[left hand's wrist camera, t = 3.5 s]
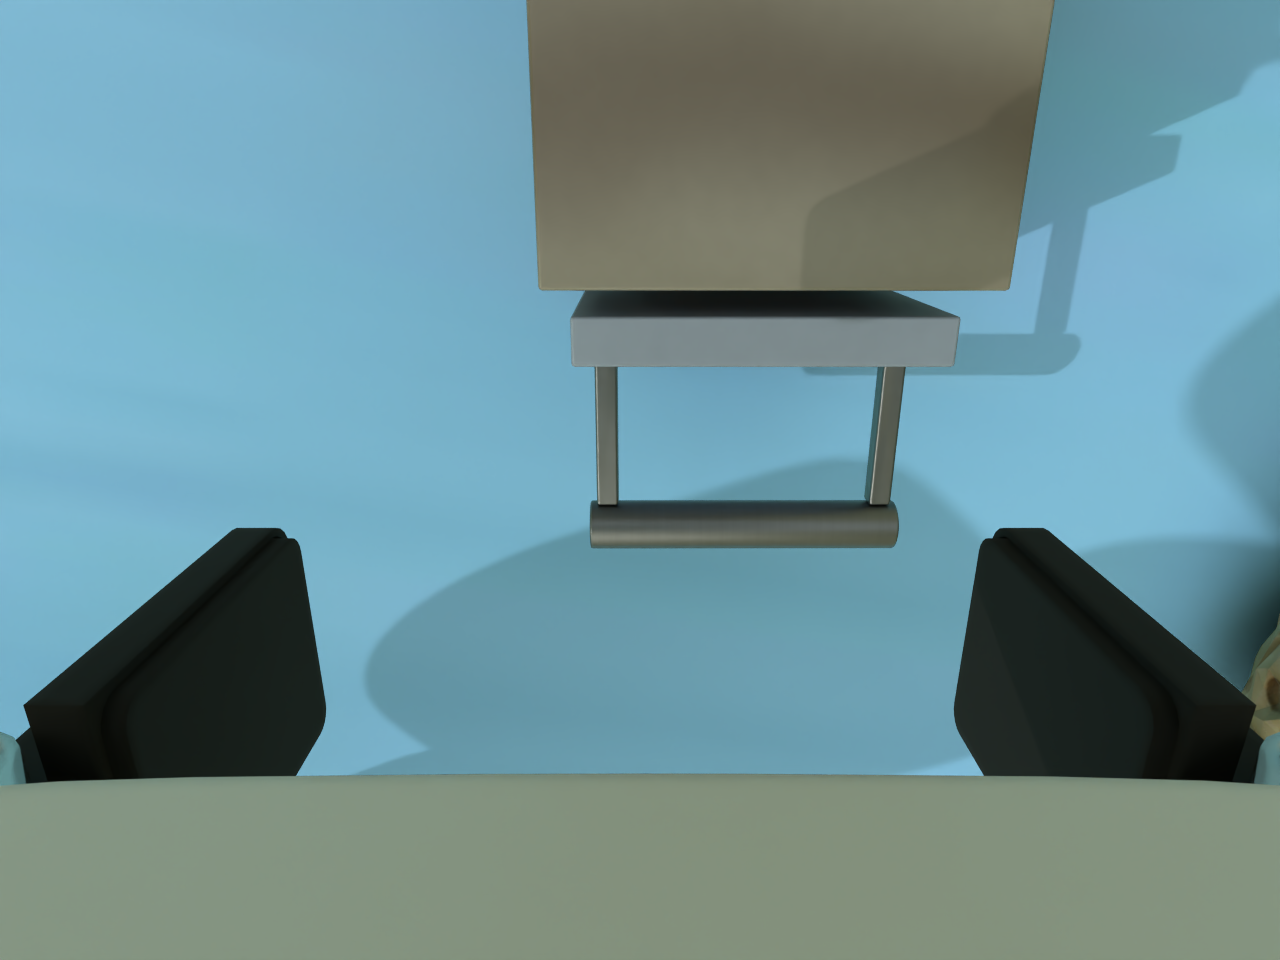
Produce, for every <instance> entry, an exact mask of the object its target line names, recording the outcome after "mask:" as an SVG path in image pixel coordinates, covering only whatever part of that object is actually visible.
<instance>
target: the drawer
mask: <svg viewBox="0 0 1280 960" xmlns="http://www.w3.org/2000/svg"><path fill="white" fill-rule="evenodd" d="M959 325H960V317H958V316H955V315H953V314H950V313H948V312H945V311H942V310H940V309H937V308H935V307H932V306H930V305H927V304H924V303H922V302H919V301H917V300H914V299H912V298H909V297H906V296H904V295H901V294H899V293H896V292H894V291H587V290H585V292H584V294H583V296H582V297H581V299H580V301H579V303H578V305H577V307H576V309H575V311H574V313H573V315H572V317H571V319H570V326H571V360H572V365H573V366H574V367H595V409H596V462H597V501H591V506H590V544H591V548H892V547H894V546H895V544H896V541H897V538H898V531H899V520H898V513H897V509H896V506H895V504H894V502H893V501H890V496H891V488H892V479H893V471H894V462H895V453H896V445H897V436H898V428H899V419H900V410H901V402H902V393H903V385H904V376H905V368H906V367H951V366H953V365H954V362H955V355H956V347H957V340H958V333H959ZM618 367H878V371H877V381H876V390H875V400H874V409H873V419H872V429H871V438H870V448H869V457H868V467H867V476H866V486H865V496H864V497H865V499H866V500H619V466H618Z"/></svg>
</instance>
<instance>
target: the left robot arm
mask: <svg viewBox="0 0 1280 960" xmlns="http://www.w3.org/2000/svg"><path fill="white" fill-rule="evenodd" d="M24 709H25V712H26V715H27V718H28V721H29V724H30V728H29V729H28V730H27V731H25V732H24V733H23V734H22V735H21V736H20V737H19V738H18V739H16V740H15V739H14V737H12V736H10V735H7V734H5V733H2V732H0V960H1280V732H1278V733H1275V734H1273V735H1270V736H1268V737H1266V739H1265V740H1264V739H1262V738H1261V737H1260V736H1259V735H1258V734H1257V733H1256V732H1255V731H1253V730H1252V729H1251V728H1250V724H1251V721H1252V718H1253V715H1254V712H1255V709H1256V704H1254V703H1253V702H1252V701H1251V700H1250V699H1248V698H1247V697H1246V696H1245V695H1244V694H1243V693H1241V692H1240V691H1239V690H1238V689H1237V688H1235V687H1234V686H1233V685H1232V684H1231V683H1229V682H1228V681H1227V680H1226V679H1225V678H1223V677H1222V676H1221V675H1220V674H1219V673H1217V672H1216V671H1215V670H1214V669H1213V668H1212V667H1210V666H1209V665H1208V664H1207V663H1206V662H1204V661H1203V660H1202V659H1201V658H1200V657H1198V656H1197V655H1196V654H1195V653H1194V652H1192V651H1191V650H1190V649H1189V648H1188V647H1186V646H1185V645H1184V644H1183V643H1182V642H1181V641H1179V640H1178V639H1177V638H1176V637H1175V636H1173V635H1172V634H1171V633H1170V632H1169V631H1167V630H1166V629H1165V628H1164V627H1163V626H1161V625H1160V624H1159V623H1158V622H1157V621H1155V620H1154V619H1153V618H1152V617H1151V616H1150V615H1148V614H1147V613H1146V612H1145V611H1144V610H1142V609H1141V608H1140V607H1139V606H1138V605H1136V604H1135V603H1134V602H1133V601H1132V600H1130V599H1129V598H1128V597H1127V596H1126V595H1124V594H1123V593H1122V592H1121V591H1120V590H1119V589H1117V588H1116V587H1115V586H1114V585H1113V584H1111V583H1110V582H1109V581H1108V580H1107V579H1105V578H1104V577H1103V576H1102V575H1101V574H1099V573H1098V572H1097V571H1096V570H1095V569H1093V568H1092V567H1091V566H1090V565H1089V564H1088V563H1086V562H1085V561H1084V560H1083V559H1082V558H1080V557H1079V556H1078V555H1077V554H1076V553H1074V552H1073V551H1072V550H1071V549H1070V548H1068V547H1067V546H1066V545H1065V544H1064V543H1062V542H1061V541H1060V540H1059V539H1058V538H1057V537H1055V536H1054V535H1053V534H1052V533H1051V532H1049V531H1048V530H1046V529H1044V528H1001V529H999V530H998V531H996V533H995V534H994V536H993V538H988V539H985V540H984V541H983V542H982V544H981V546H980V550H979V555H978V561H977V567H976V573H975V579H974V585H973V592H972V598H971V604H970V610H969V616H968V622H967V628H966V635H965V641H964V647H963V653H962V659H961V665H960V672H959V678H958V684H957V690H956V696H955V702H954V717H955V723H956V726H957V729H958V732H959V734H960V735H961V737H962V739H963V741H964V742H965V744H966V746H967V747H968V749H969V751H970V753H971V754H972V756H973V758H974V759H975V761H976V763H977V765H978V766H979V768H980V770H981V771H982V773H983V775H984V776H929V775H813V774H440V775H348V776H296V775H297V773H298V771H299V770H300V768H301V766H302V765H303V763H304V761H305V759H306V758H307V756H308V754H309V753H310V751H311V749H312V747H313V746H314V744H315V742H316V741H317V739H318V737H319V735H320V734H321V732H322V729H323V726H324V723H325V717H326V702H325V696H324V690H323V684H322V678H321V672H320V665H319V659H318V653H317V647H316V641H315V635H314V628H313V622H312V616H311V610H310V604H309V598H308V592H307V585H306V579H305V573H304V567H303V561H302V555H301V550H300V546H299V544H298V542H297V541H296V540H295V539H292V538H287V536H286V534H285V533H284V531H282V530H281V529H279V528H236V529H234V530H232V531H231V532H229V533H228V534H227V535H226V536H225V537H224V538H222V539H221V540H220V541H219V542H218V543H216V544H215V545H214V546H213V547H212V548H210V549H209V550H208V551H207V552H206V553H204V554H203V555H202V556H201V557H200V558H198V559H197V560H196V561H195V562H194V563H192V564H191V565H190V566H189V567H188V568H187V569H185V570H184V571H183V572H182V573H181V574H179V575H178V576H177V577H176V578H175V579H173V580H172V581H171V582H170V583H169V584H167V585H166V586H165V587H164V588H163V589H161V590H160V591H159V592H158V593H157V594H156V595H154V596H153V597H152V598H151V599H150V600H148V601H147V602H146V603H145V604H144V605H142V606H141V607H140V608H139V609H138V610H136V611H135V612H134V613H133V614H132V615H130V616H129V617H128V618H127V619H126V620H125V621H123V622H122V623H121V624H120V625H119V626H117V627H116V628H115V629H114V630H113V631H111V632H110V633H109V634H108V635H107V636H105V637H104V638H103V639H102V640H101V641H99V642H98V643H97V644H96V645H95V646H94V647H92V648H91V649H90V650H89V651H88V652H86V653H85V654H84V655H83V656H82V657H80V658H79V659H78V660H77V661H76V662H74V663H73V664H72V665H71V666H70V667H68V668H67V669H66V670H65V671H64V672H63V673H61V674H60V675H59V676H58V677H57V678H55V679H54V680H53V681H52V682H51V683H49V684H48V685H47V686H46V687H45V688H43V689H42V690H41V691H40V692H39V693H37V694H36V695H35V696H34V697H33V698H32V699H30V700H29V701H28V702H27V703H26V704H24Z"/></svg>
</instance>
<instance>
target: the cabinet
mask: <svg viewBox="0 0 1280 960" xmlns="http://www.w3.org/2000/svg"><path fill="white" fill-rule="evenodd" d="M1054 1H1055V0H526V2H527V26H528V50H529V73H530V97H531V121H532V145H533V169H534V193H535V217H536V240H537V264H538V287H539V289H540V290H587V291H1006V290H1008V289H1009V288H1010V282H1011V276H1012V270H1013V263H1014V257H1015V250H1016V244H1017V238H1018V231H1019V225H1020V219H1021V212H1022V206H1023V199H1024V193H1025V187H1026V180H1027V174H1028V167H1029V161H1030V155H1031V148H1032V142H1033V135H1034V129H1035V123H1036V116H1037V110H1038V104H1039V97H1040V91H1041V84H1042V78H1043V72H1044V65H1045V59H1046V52H1047V46H1048V40H1049V33H1050V27H1051V20H1052V14H1053V8H1054Z"/></svg>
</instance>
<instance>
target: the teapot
mask: <svg viewBox="0 0 1280 960" xmlns="http://www.w3.org/2000/svg"><path fill="white" fill-rule="evenodd" d="M1242 693H1243V694H1244V695H1245V696H1246V697H1247V698H1248V699H1250V700H1251V701H1252V702H1253V703H1254V704H1256V709H1255V712H1254V715H1253V718H1252V721H1251V724H1250V728H1251V729H1252V730H1253V731H1255V732H1256V733H1257V734H1258V735H1259V736H1260V737H1261V738H1262V739H1264V740H1265V739H1266V737H1268V736H1270V735H1273V734H1275V733H1278V732H1280V614H1279V619H1278V624H1277V627H1276V629H1275V630H1274V631H1273V633H1272V634H1271V635H1270V636H1269V637H1268V639H1267V640H1266V641H1265V642H1264V643H1263V644H1262V646H1261V647H1260V649H1259V651H1258V653H1257V655H1256V657H1255V661H1254V664H1253V668H1252V672H1251V676H1250V678H1249V680H1248V682H1247V683H1246V685H1245V687H1244V689H1243V691H1242Z"/></svg>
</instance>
